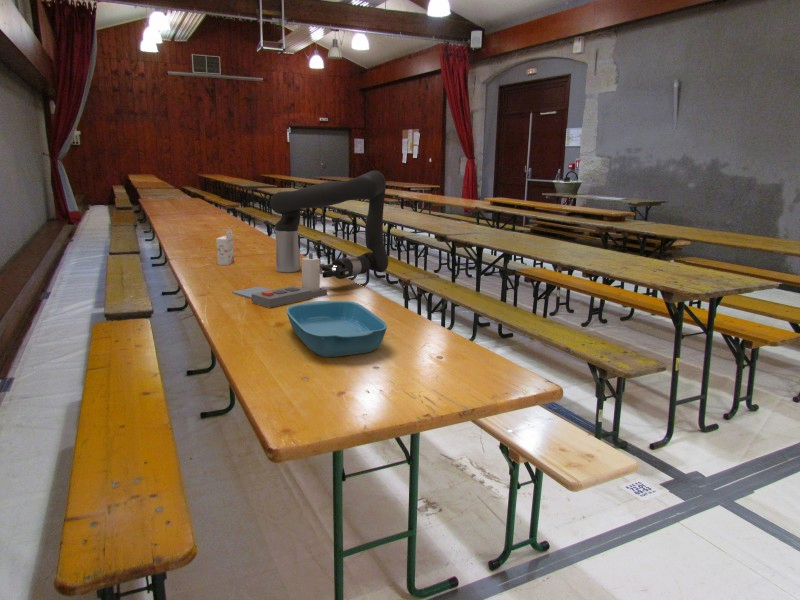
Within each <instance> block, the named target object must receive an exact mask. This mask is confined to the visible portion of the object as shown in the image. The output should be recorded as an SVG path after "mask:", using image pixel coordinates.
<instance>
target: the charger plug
mask: <svg viewBox="0 0 800 600" xmlns="http://www.w3.org/2000/svg"><path fill="white" fill-rule="evenodd" d="M320 260H321V259H320V258H318V257H314V253H313V252H309V253H308V257H303V258H301V288H304V289H308V290H311V292H312V291H317V290H320V288H321V287H320V285H321V280H320V279H321V274H320V264H321V261H320Z"/></svg>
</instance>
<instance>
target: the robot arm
mask: <svg viewBox="0 0 800 600" xmlns="http://www.w3.org/2000/svg"><path fill="white" fill-rule="evenodd" d="M386 185H387V180H386V178H385V175H384V174H383V173H382V172H380V171H379V170H370V171H368V172H366V173H363V174H361V175H359V176H357V177H354V178H352V179H349V180H344V181H338V180H337V181H335V180H332V181H325V182H319V183H315V184H313V185H308V186H305V187H303V188H300V189H296V190H287V191H285V190H284V191H277V192H276V193H274V194H273V195H272V196H271V198H270V201H269V202H270V203H269V205H270V208H271V209H272V211H273V212H274V213H275V214H279V215H281V218H280V220H278V221H277V222H276V223H275V261H276V262H275V267H276V268H275V269H276V272H278V273H296V272H299V271H300V270H301V248H300V247H299V225H300V222H301V221H300V220H301V209H314V208H316V209H317V208H325V207H330V206H334V205H338V204H342V203H345V202H347V201H357V200H368V211H367V215H366V219H365V227H364V235H365V236H364V237H365V238H364V239H365V246H366V248H367V249H368V250H370V251H368V252H365V253H363V254H360V255H358V256H348V257H341V258H335V259H334V260H333V261H332V263H327V264H325V263H320V275H322V278H323V279H328V278H336V279H339V280H342V279H345V278H346V279H347V278H352V277H355V276H357V275H358V276H359V275H362V274H363V275H364V274H366V273H367V272H369V270H370V271H373V272H375V273H384V272H386V270H387V269H388V267H389V257H388V253H387V250H386V247H385V244H384V228H383V227H384V226H383V225H384V224H383V223H384V222H383V221H384V220H383V219H384V205H385V195H386V189H387V186H386Z"/></svg>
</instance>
